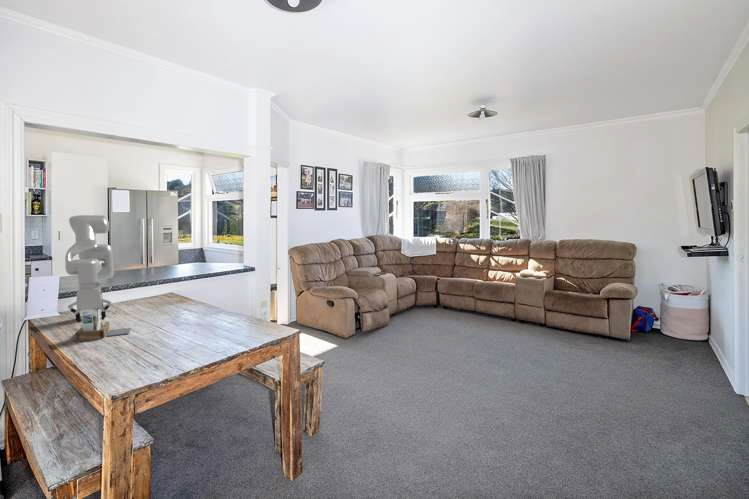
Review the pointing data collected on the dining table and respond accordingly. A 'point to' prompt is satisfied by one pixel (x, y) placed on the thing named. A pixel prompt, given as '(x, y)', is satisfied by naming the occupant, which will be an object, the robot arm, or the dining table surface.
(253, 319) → the dining table surface
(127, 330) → the mat
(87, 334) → the rack
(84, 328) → the syrup box
